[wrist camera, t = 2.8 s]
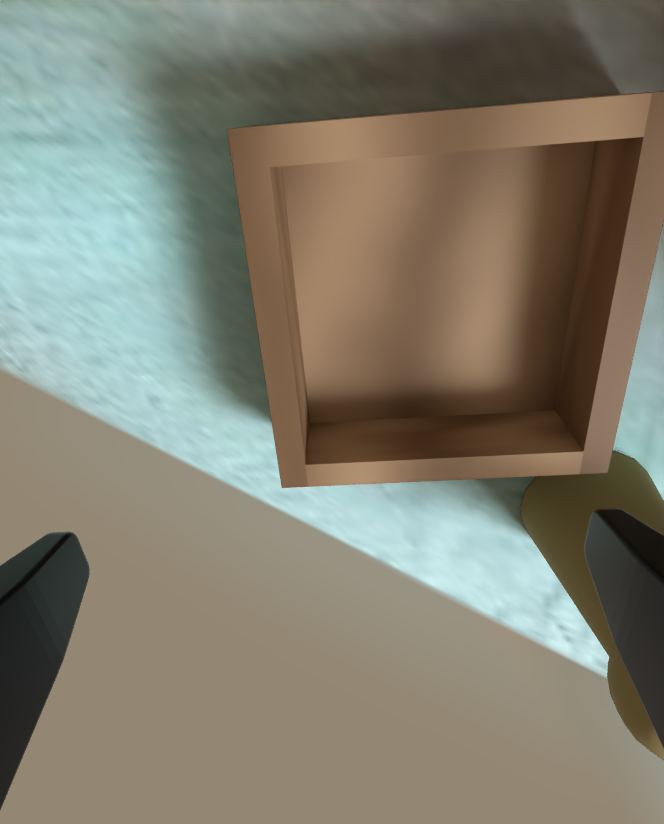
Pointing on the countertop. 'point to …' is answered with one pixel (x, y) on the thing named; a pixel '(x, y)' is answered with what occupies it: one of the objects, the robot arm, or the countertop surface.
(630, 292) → the box
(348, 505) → the countertop surface
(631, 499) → the cork
